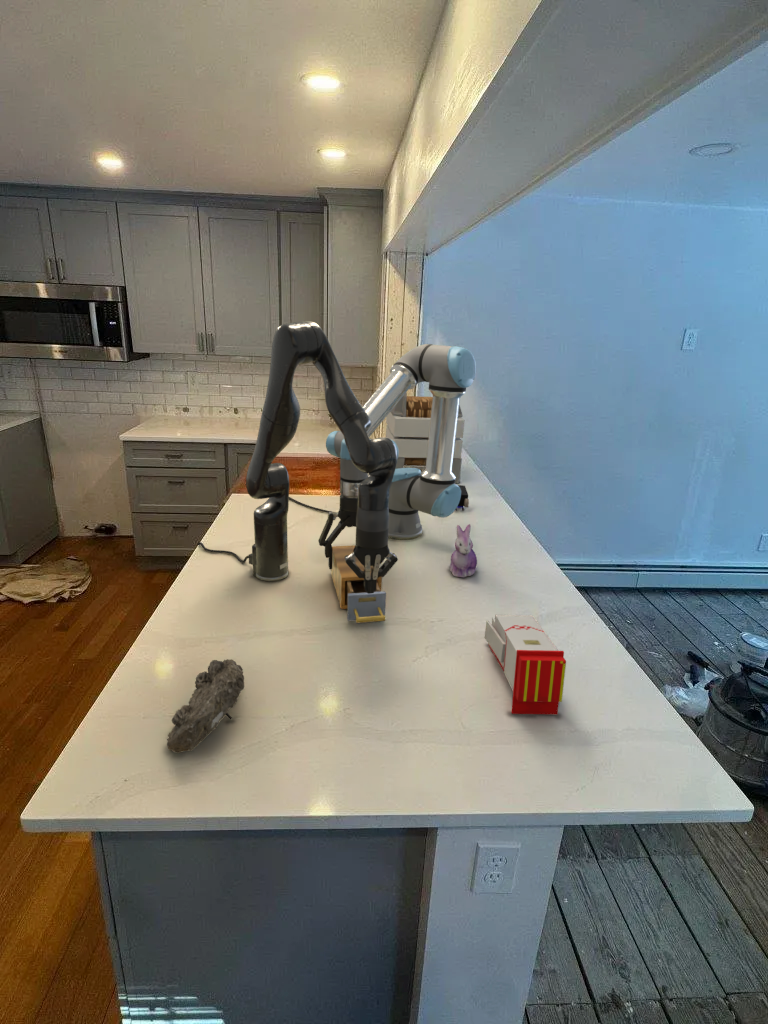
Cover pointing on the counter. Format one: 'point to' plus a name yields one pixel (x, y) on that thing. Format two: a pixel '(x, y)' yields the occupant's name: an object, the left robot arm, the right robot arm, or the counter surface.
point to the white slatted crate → (418, 432)
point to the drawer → (364, 602)
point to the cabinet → (344, 572)
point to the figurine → (463, 554)
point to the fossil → (206, 705)
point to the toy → (527, 663)
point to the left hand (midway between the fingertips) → (369, 591)
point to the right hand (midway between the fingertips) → (351, 566)
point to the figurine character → (463, 498)
